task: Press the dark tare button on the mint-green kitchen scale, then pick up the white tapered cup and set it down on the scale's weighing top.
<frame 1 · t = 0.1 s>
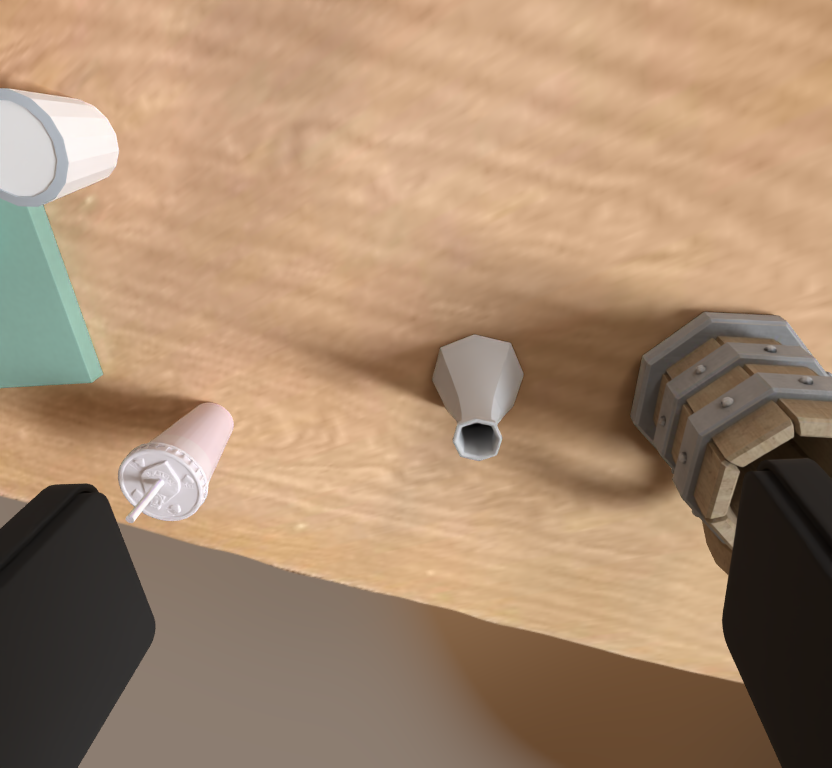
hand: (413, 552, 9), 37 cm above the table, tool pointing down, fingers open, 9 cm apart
flask: (477, 374, 48), on the table
smoothie: (213, 420, 52), on the table
tankard: (707, 430, 48), on the table
white tapered cup: (82, 141, 43), on the table
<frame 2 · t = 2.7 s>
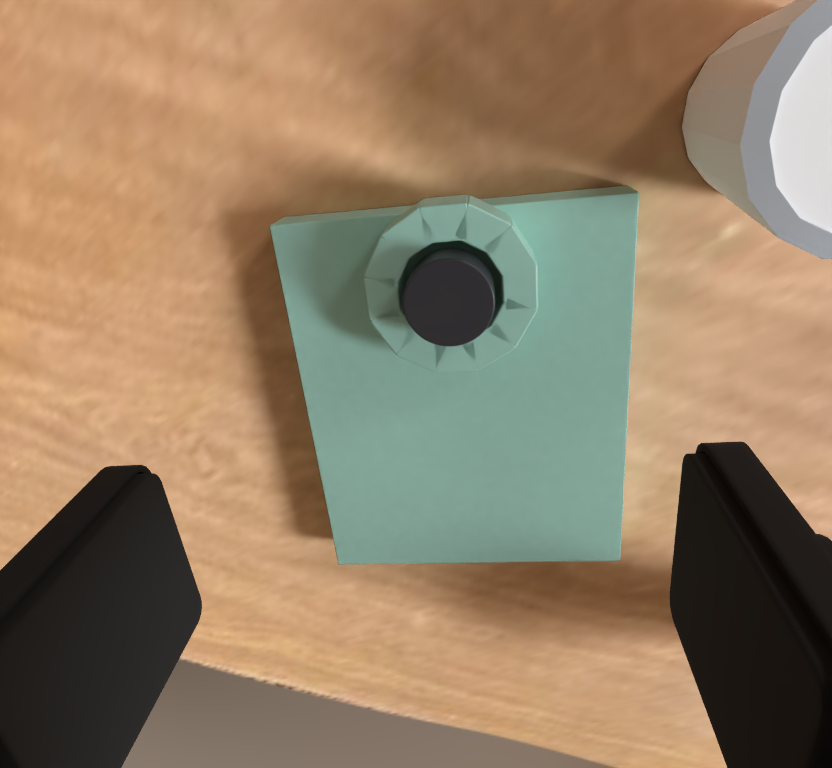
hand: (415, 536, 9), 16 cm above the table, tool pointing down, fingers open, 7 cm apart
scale: (463, 392, 26), on the table
tare button: (449, 297, 20), point 4 cm above the table, slide at 0.1 cm
white tapered cup: (766, 110, 20), on the table
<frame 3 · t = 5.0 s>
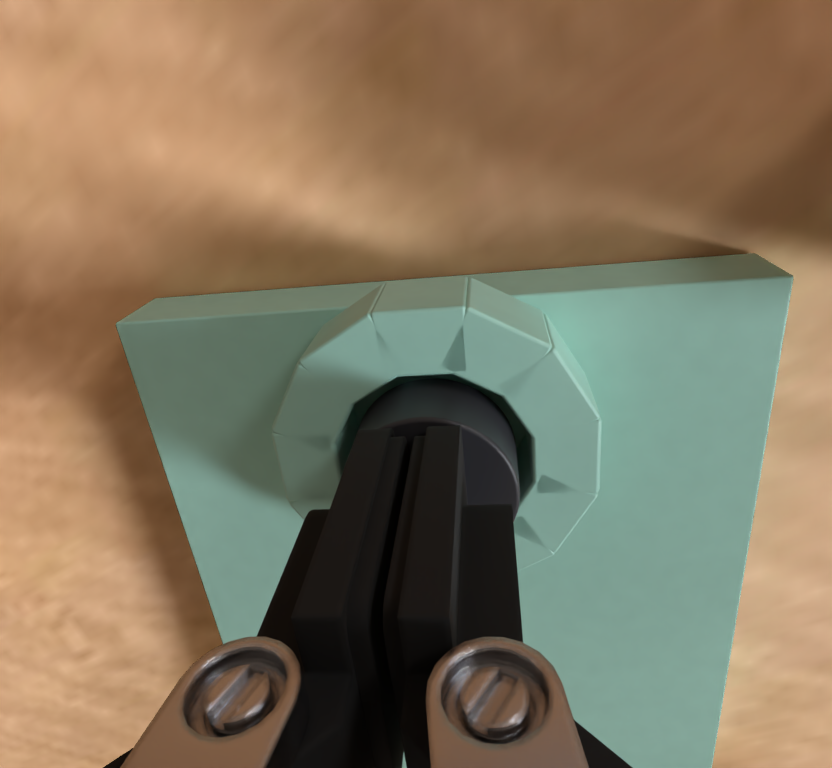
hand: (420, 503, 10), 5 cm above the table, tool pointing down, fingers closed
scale: (461, 563, 16), on the table
tare button: (432, 471, 11), point 4 cm above the table, slide at -0.1 cm, touching gripper
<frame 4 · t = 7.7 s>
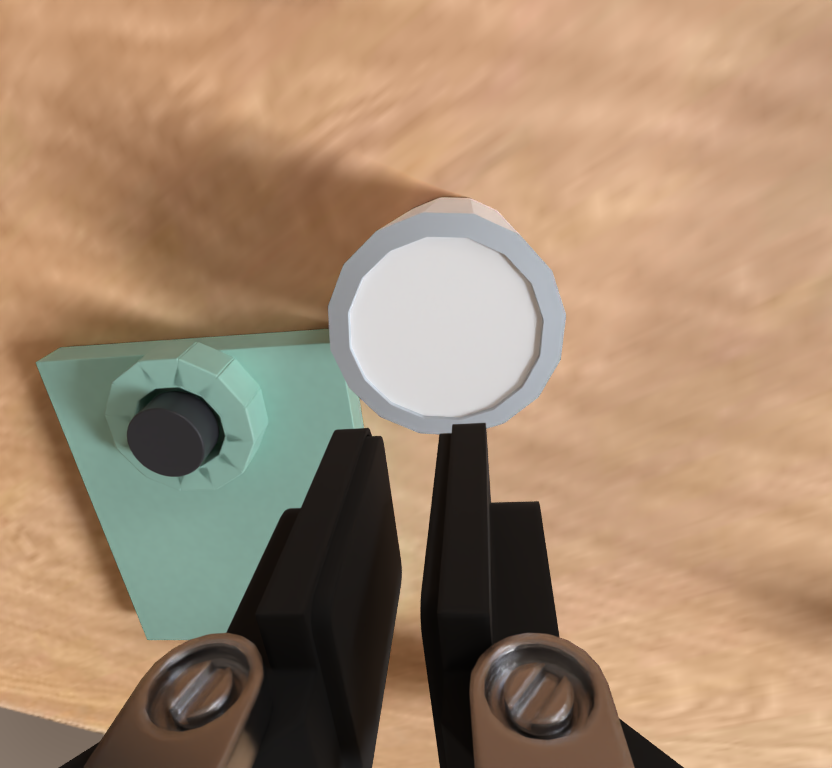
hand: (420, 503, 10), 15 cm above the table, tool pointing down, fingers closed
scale: (241, 491, 29), on the table
tare button: (174, 433, 23), point 4 cm above the table, slide at 0.1 cm
white tapered cup: (452, 269, 24), on the table
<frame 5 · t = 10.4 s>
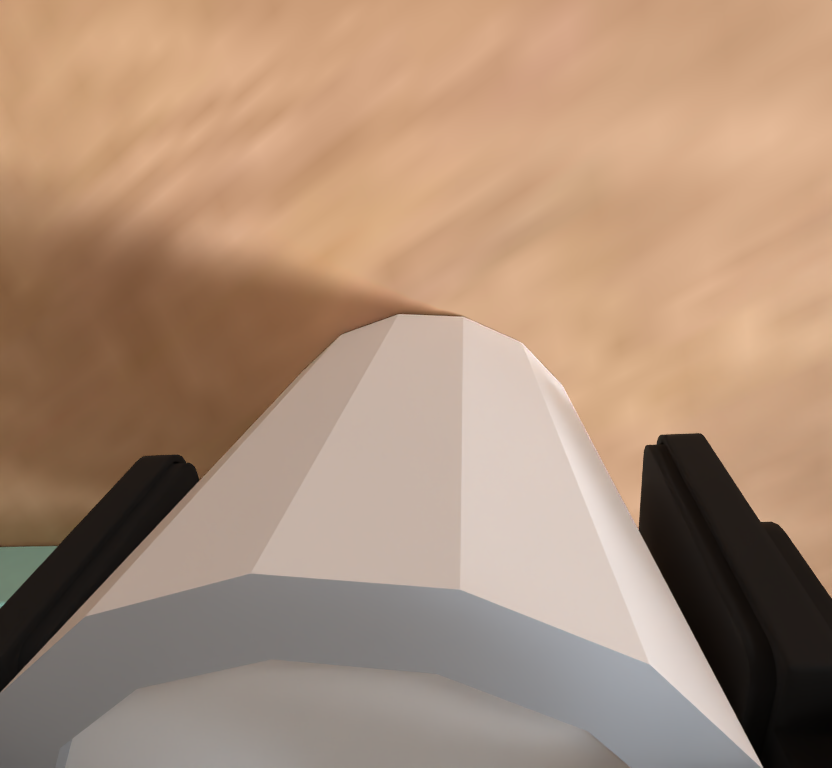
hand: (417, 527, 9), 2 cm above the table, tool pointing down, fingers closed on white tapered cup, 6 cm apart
white tapered cup: (428, 448, 12), on the table, touching gripper
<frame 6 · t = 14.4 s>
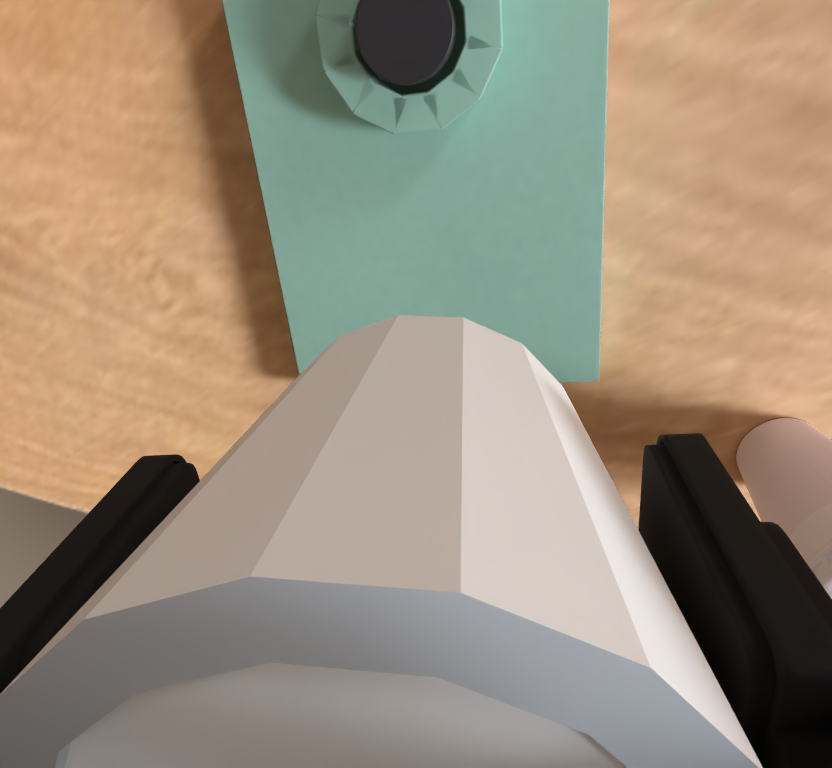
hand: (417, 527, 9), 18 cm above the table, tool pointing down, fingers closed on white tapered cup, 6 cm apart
smoothie: (776, 450, 28), on the table
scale: (432, 194, 25), on the table
tare button: (406, 30, 19), point 4 cm above the table, slide at 0.1 cm
white tapered cup: (428, 448, 12), point 15 cm above the table, touching gripper
when the fingers open (4 cm above the table, at t = 18.2 s): white tapered cup stays where it is, resting on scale.
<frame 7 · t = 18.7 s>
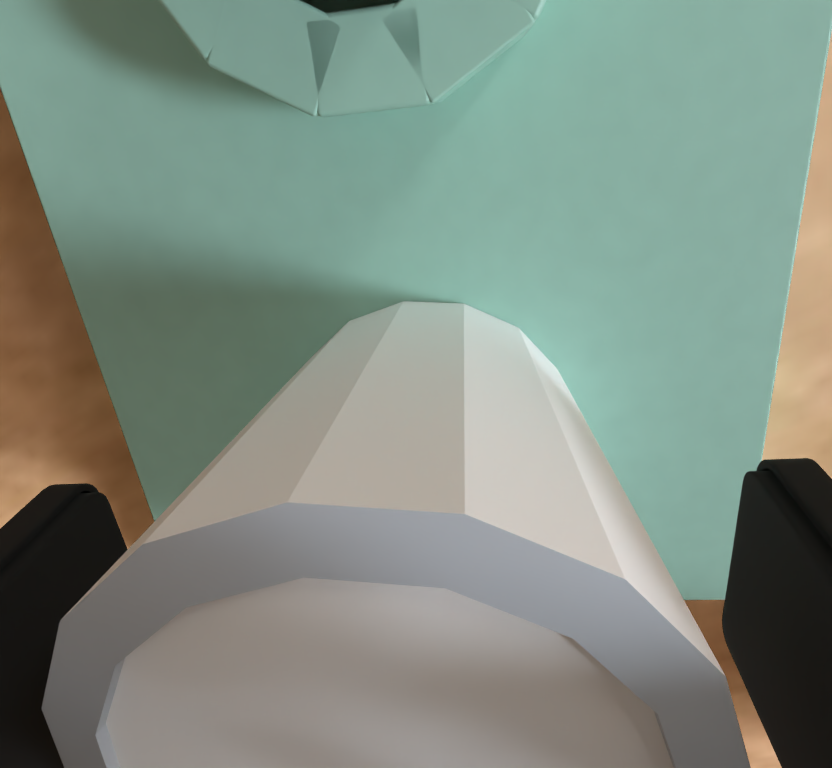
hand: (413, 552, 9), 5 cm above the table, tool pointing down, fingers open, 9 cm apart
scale: (416, 244, 12), on the table
white tapered cup: (431, 429, 12), point 2 cm above the table, touching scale
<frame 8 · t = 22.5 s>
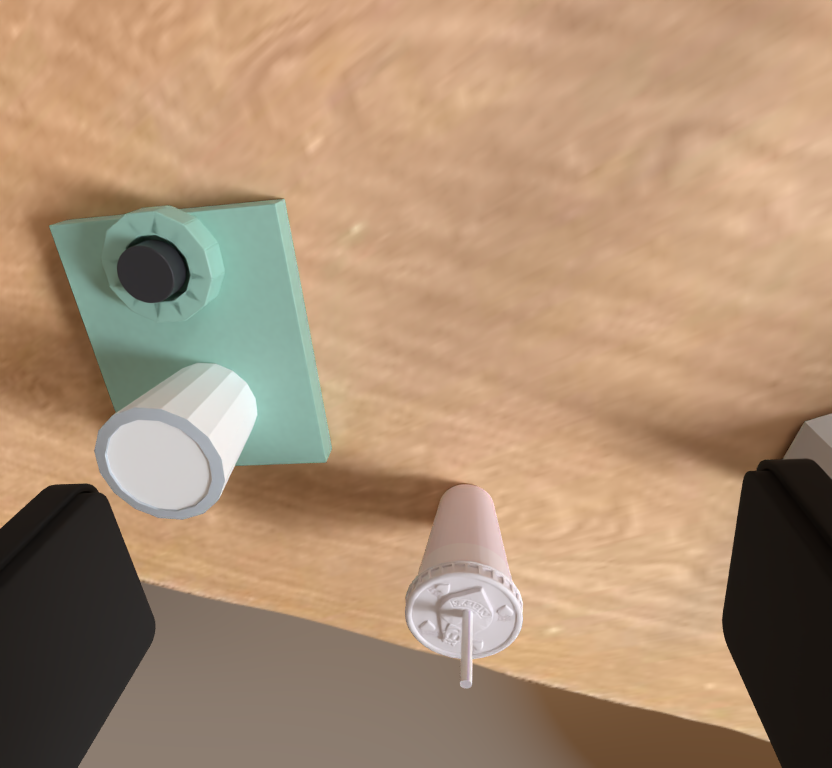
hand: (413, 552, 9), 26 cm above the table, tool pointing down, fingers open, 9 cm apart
smoothie: (466, 505, 41), on the table
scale: (208, 342, 37), on the table
tare button: (152, 271, 31), point 4 cm above the table, slide at 0.1 cm
white tapered cup: (214, 402, 37), point 2 cm above the table, touching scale
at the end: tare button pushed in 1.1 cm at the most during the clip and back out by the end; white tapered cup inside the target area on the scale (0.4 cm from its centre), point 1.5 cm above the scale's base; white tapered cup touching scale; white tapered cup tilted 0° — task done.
